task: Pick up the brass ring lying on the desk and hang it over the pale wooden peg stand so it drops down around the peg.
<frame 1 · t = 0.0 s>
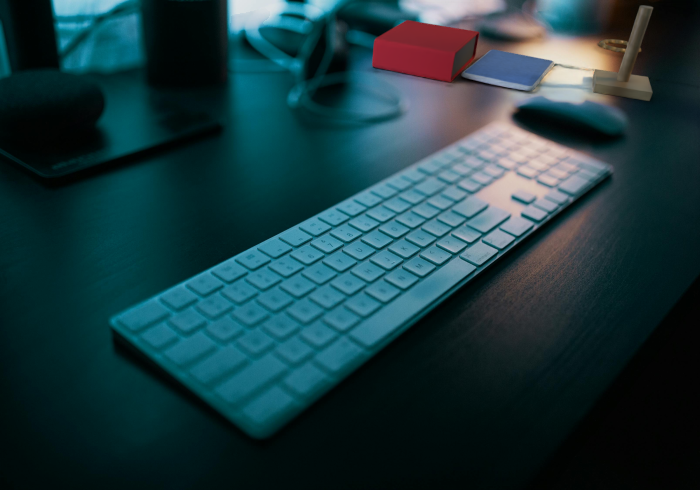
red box: (425, 63, 107), on the table
stand: (619, 88, 101), on the table
tablet: (508, 74, 105), on the table
ring: (619, 47, 123), point 1 cm above the table
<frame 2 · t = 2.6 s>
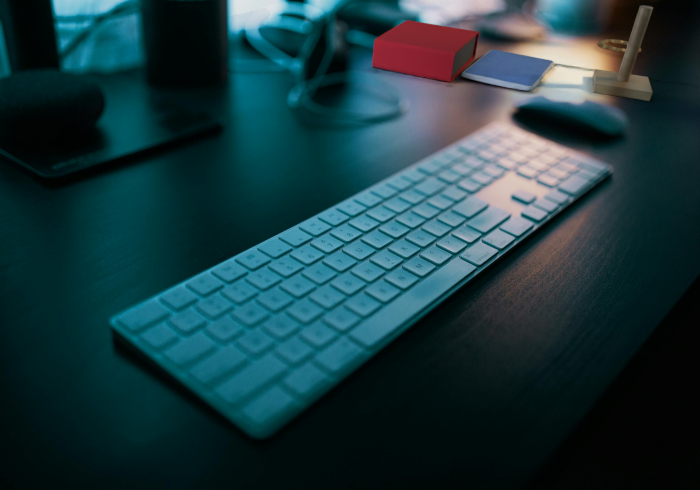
nothing on the table moved.
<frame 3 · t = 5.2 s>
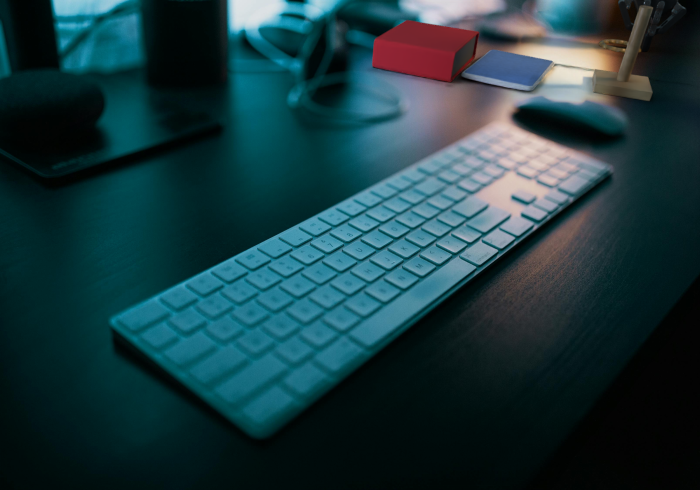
hand: (636, 52, 123), 0 cm above the table, tool pointing down, fingers closed on ring, 1 cm apart
ring: (619, 47, 123), point 1 cm above the table, touching gripper
everything else where it was.
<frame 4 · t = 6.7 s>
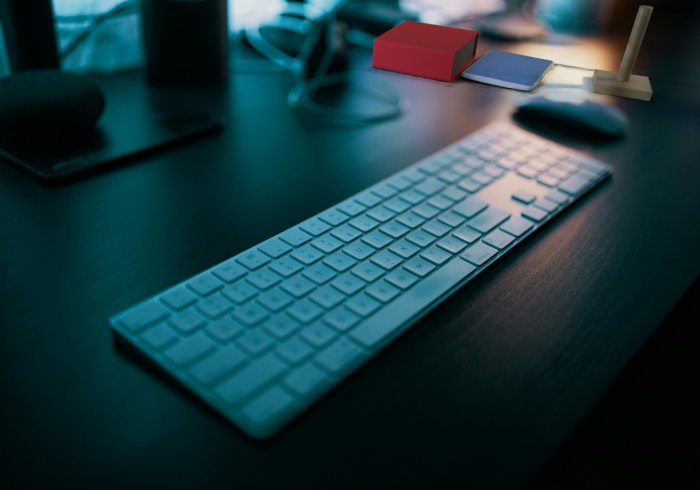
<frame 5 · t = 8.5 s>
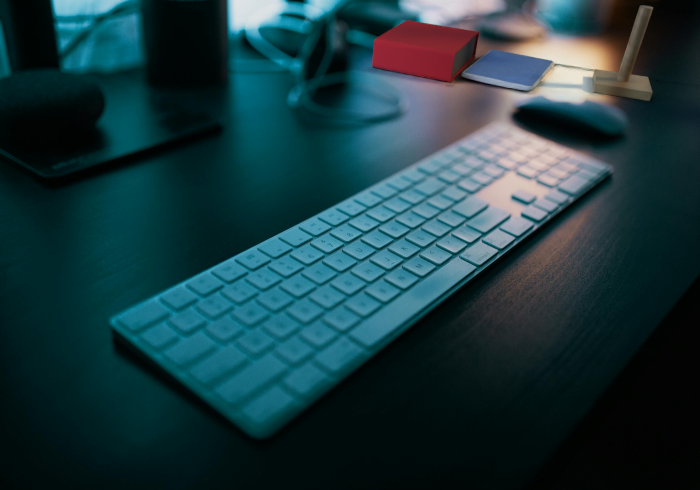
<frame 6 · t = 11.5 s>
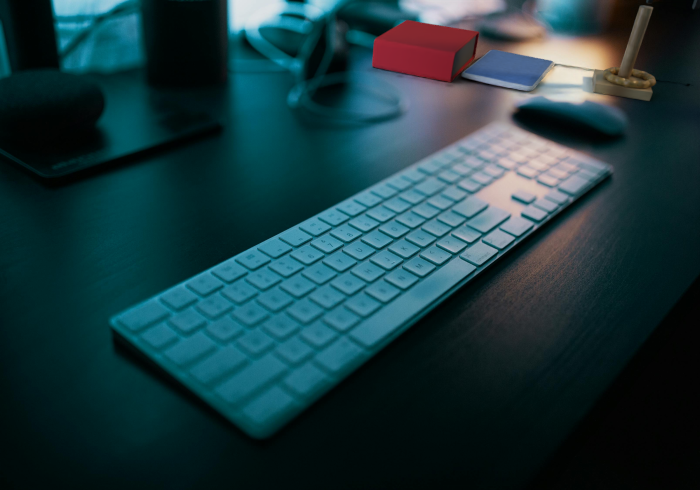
hand: (672, 5, 93), 14 cm above the table, tool pointing down, fingers open, 6 cm apart
ring: (629, 77, 100), point 2 cm above the table, touching stand
everything else where it was.
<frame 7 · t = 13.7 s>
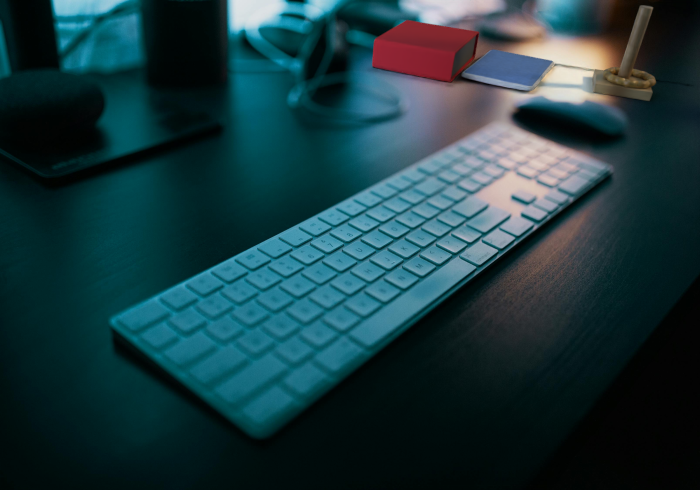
nothing on the table moved.
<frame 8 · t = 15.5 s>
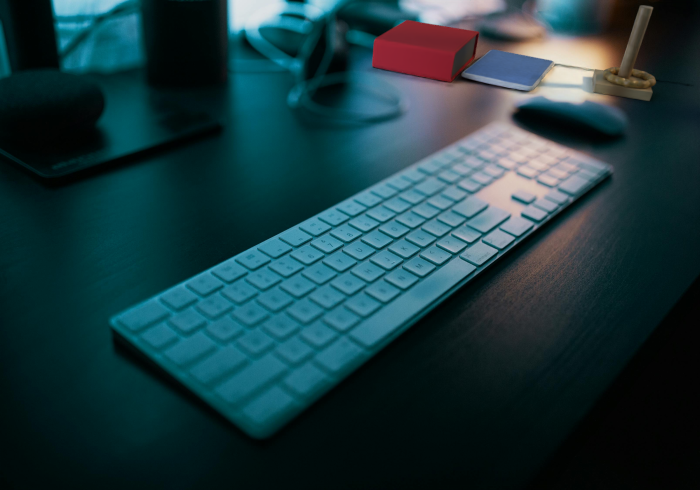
nothing on the table moved.
at the end: ring 0.9 cm off-centre on the stand, point 2.1 cm above the stand's base; the gripper is holding nothing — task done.
